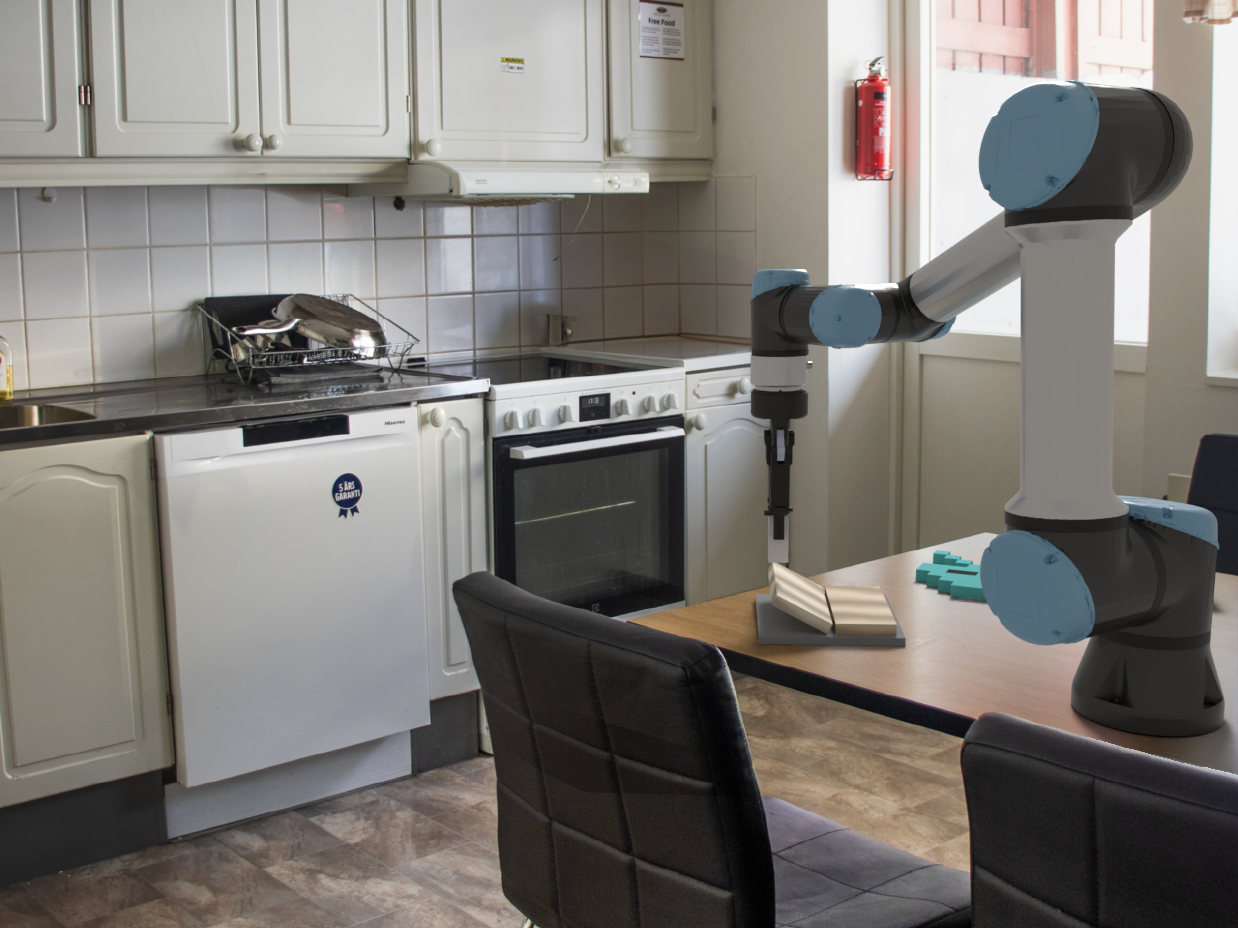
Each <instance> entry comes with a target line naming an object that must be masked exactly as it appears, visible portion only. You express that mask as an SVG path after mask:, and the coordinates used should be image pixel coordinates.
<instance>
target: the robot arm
mask: <svg viewBox="0 0 1238 928" xmlns="http://www.w3.org/2000/svg"><path fill="white" fill-rule="evenodd" d="M1193 150H1194V139H1193V132H1192V128H1191V125H1190V122H1189V119H1188V118H1187V116H1186V114H1185V113H1184V112H1183V110H1182V109H1181V108H1180V106H1179V105H1178V104H1177V103H1176V102H1175V101H1173V100H1172V99H1170V98H1169V97H1168V96H1166V95H1164V94H1163V93H1161V92H1159V91H1155V90H1152V89H1149V88H1143V87H1134V86H1131V87H1130V86H1129V87H1127V86H1126V87H1124V86H1115V85H1108V84H1107V85H1106V84H1098V83H1089V82H1082V81H1078V80H1074V79H1071V80H1064V81H1063V80H1062V81H1042V82H1036V83H1035V82H1034V83H1032V84H1029V85H1025V87H1023V88H1021V89H1018V90H1017V91H1015V92H1014V93H1013V94H1011V95H1010V96H1009V97H1008V98H1007V99H1005V100H1004V101H1003V102H1002V104H1001V105H1000V107H999V110H998V112H997V113H995V114H994V115H993V116H992V117H991V118H990V120H989V122H988V124H987V126H986V128H985V130H984V132H983V136H982V139H981V143H980V146H979V152H978V174H979V177H980V182H981V184H982V186H983V189H984V190H986V191H988V196H989V197H990V199H991V200H992V201H993V202H995V203H996V204H997V205H999V206H1000V207H1002V208H1004V210H1002V211H1001V212H999V213H998V214H996V215H995V216H993V217H992V218H991V219H988V221H987V222H985V223H983V224H982V225H980V226H979V227H978V228H976V229H974V230H973V231H971V233H969V234H968V235H966V236H964V237H963V238H962V239H960V240H959V241H957V242H956V243H955V244H953V245H952V246H950V247H948V249H946V250H944V251H943V252H942V253H940V254H938V255H936V257H934V258H933V259H932V260H930V261H928V262H927V263H926V264H924V265H923V266H921V267H919V268H918V269H916V271H914V272H912V273H911V274H909V275H908V276H906V277H905V278H903V279H901V280H900V281H897V282H893V283H872V284H871V283H870V284H869V283H867V284H841V283H840V284H831V285H830V284H829V285H828V284H823V285H822V284H821V285H820V284H819V285H818V284H817V285H813V284H811V281H810V273H809V271H807V270H806V269H804V268H803V269H802V268H798V269H797V268H794V269H793V268H786V269H780V268H779V269H778V268H777V269H776V268H773V269H758V270H757V271H756V272H755V273H753V276H752V279H751V293H750V294H751V297H750V299H749V303H750V348H751V349H750V350H751V352H750V381H749V383H750V384H751V385H752V386H754V388H753V389H752V390H751V391H750V414H751V417H753V418H755V419H759V420H769V429H764V430H763V441H764V446H765V463H766V465H767V466H768V467H767V468H768V474H767V475H768V483H767V485H768V487H767V488H768V490H767V491H768V493H767V494H768V497H767V504H768V505H767V510H766V509H765V510H763V516H765V517H766V516H767V562H768V563H770V564H771V563H778V564H780V563H781V564H783V563H786V564H787V563H789V549H790V548H789V540H790V539H789V536H790V535H789V534H790V533H789V532H790V531H789V530H790V529H789V526H790V524H789V523H790V522H789V521H790V513H793V512H794V511H793V510H794V507H793V506H792V505H791V506H790V484H791V483H790V481H791V477H790V476H791V466H792V465H793V458H794V457H793V454H794V453H793V449H794V448H793V447H794V446H795V443H796V442H795V441H796V439H795V433H796V432H795V431H794V429H790V425H789V421H790V420H799V419H800V420H801V419H804V418H805V417H807V416H808V414H809V391H808V390H807V389H806V388H804V387H805V386H806V385H807V384H808V382H809V373H808V371H807V370H812V369H813V368H814V364H813V361H808V359H809V354H810V351H809V345H813V346H820V347H831V348H832V349H837V350H840V349H841V350H842V349H856V348H861V347H864V346H865V345H873V344H874V345H876V344H877V345H878V344H892V343H895V344H896V343H923V342H927V341H930V340H937V339H940V338H942V337H944V336H946V335H947V334H948V333H949V332H950V331H951V328H952V327H953V325H954V324H955V322H956V319H957V316H959V315H960V314H962V313H964V312H965V311H967V310H969V309H970V308H972V307H973V306H975V305H977V304H979V303H980V302H982V301H984V300H985V299H986V298H987V299H988V297H990V296H991V295H994V294H995V293H996V292H998V291H1000V290H1001V289H1003V288H1005V287H1007V286H1008V285H1010V284H1011V283H1013V282H1014V281H1016V280H1018V279H1019V278H1020V407H1019V408H1020V432H1019V433H1020V436H1019V437H1020V440H1019V441H1020V456H1019V457H1020V458H1019V459H1020V462H1019V463H1020V464H1019V465H1020V471H1019V472H1020V476H1019V477H1020V483H1019V484H1020V487H1019V490H1018V491H1017V492H1016V493H1015V494H1014V496H1012V497H1011V498H1010V499H1009V500H1008V501H1007V502H1006V503H1005V504H1004V531H1003V532H1002V533H1001V534H998V535H997V536H995V537H994V538H993V539H991V541H990V543H989V546H987V547H986V548H985V549H984V550H983V552H982V555H981V559H980V563H979V565H980V581H981V586H982V590H983V593H984V596H985V599H986V601H985V602H986V604H987V606H988V607H989V609H990V611H991V613H992V614H993V615H994V616H995V617H997V618H998V619H999V622H1000V623H1001V625H1002V626H1003V627H1004V628H1005V629H1006V630H1007V631H1008V632H1009V633H1011V634H1012V635H1013V636H1014V637H1016V638H1018V639H1019V640H1021V641H1024V642H1026V643H1029V644H1032V645H1036V646H1045V647H1046V646H1054V645H1060V644H1063V645H1069V644H1076V643H1079V642H1082V641H1084V640H1085V639H1089V641H1088V643H1087V645H1086V648H1085V650H1084V652H1083V655H1082V656H1081V659H1080V662H1079V664H1078V666H1077V669H1076V671H1075V673H1074V676H1073V679H1072V681H1071V693H1070V704H1071V706H1072V708H1073V709H1074V710H1075V711H1076V712H1077V713H1079V714H1080V715H1082V717H1085V718H1086V719H1089V720H1091V721H1093V722H1096V723H1098V724H1101V725H1104V726H1107V727H1110V728H1112V729H1116V730H1121V731H1125V732H1128V733H1130V732H1131V733H1136V734H1143V735H1149V736H1150V735H1151V736H1157V737H1158V736H1161V737H1188V736H1189V737H1190V736H1197V735H1198V736H1199V735H1203V734H1207V733H1210V732H1213V731H1215V730H1217V729H1219V728H1220V727H1221V726H1222V725H1223V723H1224V722H1225V721H1224V718H1225V708H1226V707H1225V706H1226V702H1225V696H1224V692H1223V690H1222V689H1223V688H1222V685H1221V682H1220V679H1219V678H1220V677H1219V675H1218V672H1217V669H1216V668H1217V667H1216V664H1215V660H1214V658H1213V655H1212V650H1211V638H1212V637H1211V636H1212V628H1213V627H1212V626H1213V625H1212V624H1213V612H1214V610H1213V609H1214V600H1215V599H1214V597H1215V587H1216V584H1215V583H1216V573H1217V572H1216V571H1217V560H1218V559H1217V558H1218V551H1219V550H1220V543H1219V541H1218V539H1219V538H1218V528H1219V527H1218V519H1217V517H1216V516H1215V514H1214V513H1213V512H1211V510H1208V509H1206V508H1204V507H1200V506H1197V505H1194V504H1189V503H1183V502H1178V501H1171V500H1165V499H1158V498H1150V497H1142V496H1131V495H1118V494H1116V493H1115V491H1114V489H1113V488H1114V487H1113V486H1114V485H1113V482H1114V480H1113V479H1114V477H1113V474H1114V473H1113V470H1114V467H1113V466H1114V397H1115V396H1114V394H1115V393H1114V391H1115V390H1114V386H1115V385H1114V382H1115V381H1114V378H1115V377H1114V376H1115V369H1114V368H1115V302H1116V301H1115V300H1116V299H1115V295H1116V293H1115V292H1116V290H1115V289H1116V288H1115V287H1116V285H1115V283H1116V280H1115V279H1116V278H1115V277H1116V243H1117V241H1118V240H1119V238H1120V237H1121V236H1122V235H1123V234H1124V233H1125V232H1126V231H1127V230H1129V228H1130V227H1131V226H1133V223H1134V221H1133V220H1136V219H1138V218H1139V217H1141V216H1142V215H1144V214H1145V213H1147V212H1148V211H1150V210H1151V209H1153V208H1155V207H1156V206H1159V204H1160V203H1162V202H1163V201H1164V200H1166V199H1167V198H1168V197H1169V196H1170V195H1172V194H1173V192H1174V191H1176V189H1177V188H1178V187H1179V186H1180V184H1181V183H1182V181H1183V179H1184V177H1185V176H1186V175H1187V173H1188V170H1189V167H1190V165H1191V162H1192V159H1193V153H1194V151H1193Z"/></svg>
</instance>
